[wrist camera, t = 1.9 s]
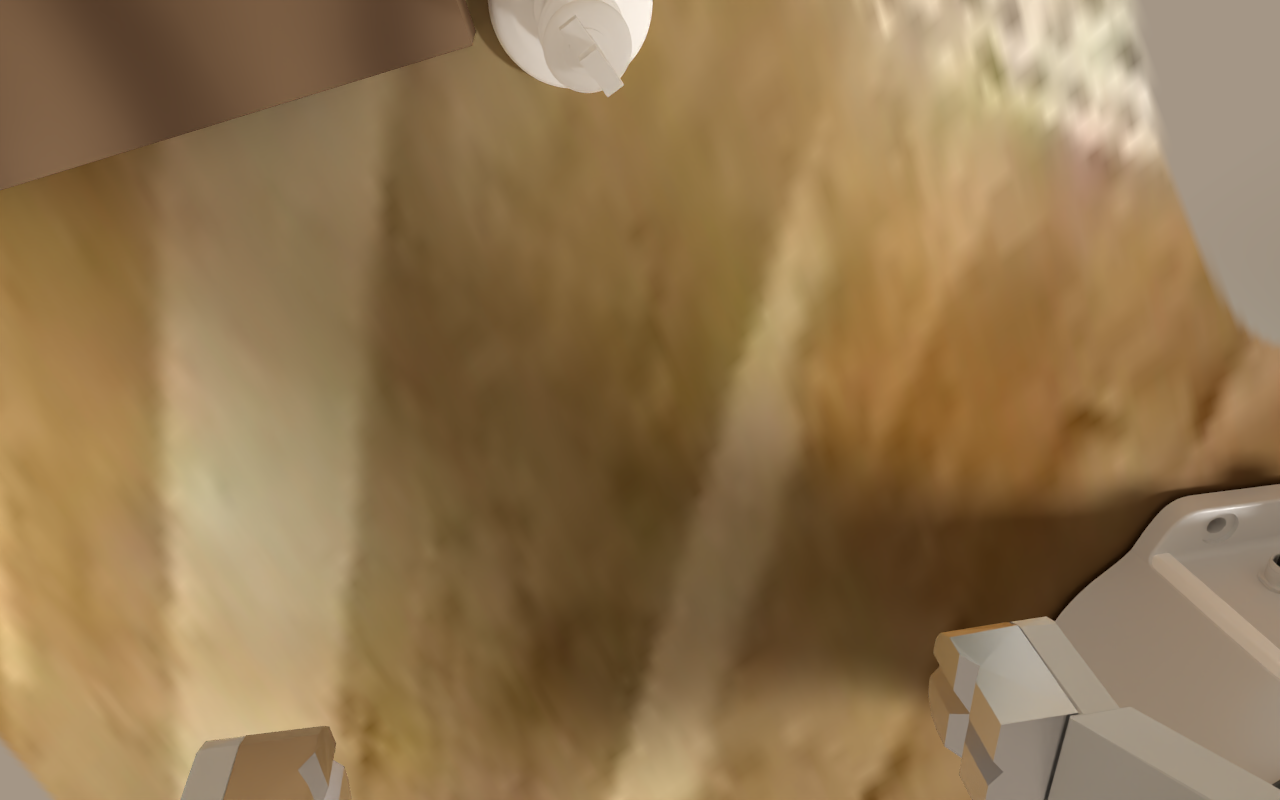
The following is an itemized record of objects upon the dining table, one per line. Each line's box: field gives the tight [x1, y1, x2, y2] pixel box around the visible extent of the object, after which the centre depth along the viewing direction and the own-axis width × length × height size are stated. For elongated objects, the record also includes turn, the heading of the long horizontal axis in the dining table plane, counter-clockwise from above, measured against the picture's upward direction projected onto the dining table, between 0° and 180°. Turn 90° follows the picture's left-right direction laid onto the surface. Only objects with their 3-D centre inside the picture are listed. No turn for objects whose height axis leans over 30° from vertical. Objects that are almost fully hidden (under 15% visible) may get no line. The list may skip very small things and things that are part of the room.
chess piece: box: [488, 0, 653, 97], centre depth 23 cm, size 5×5×10 cm
